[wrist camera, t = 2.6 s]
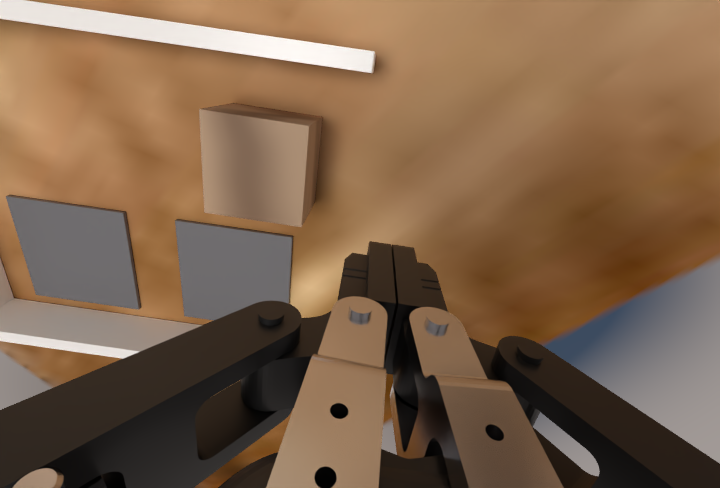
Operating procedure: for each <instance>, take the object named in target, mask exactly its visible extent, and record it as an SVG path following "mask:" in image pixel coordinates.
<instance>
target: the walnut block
mask: <svg viewBox="0 0 720 488" xmlns="http://www.w3.org/2000/svg"><path fill="white" fill-rule="evenodd" d="M199 116H200V136H201V156H202V175H203V195H204V213H211V214H217V215H224V216H231V217H237V218H244V219H251V220H257V221H264V222H270V223H277V224H284V225H290V226H297V227H302V225H303V223H304V221H305V220H306V218H307V216H308V214H309V212H310V210H311V208H312V207H313V205H314V203H315V196H316V185H317V174H318V163H319V151H320V140H321V129H322V118H323V117H320V116H314V115H307V114H301V113H294V112H288V111H281V110H275V109H268V108H261V107H255V106H248V105H242V104H235V103H231V104H226V105H220V106H214V107H209V108H203V109H199Z"/></svg>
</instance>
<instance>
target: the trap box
mask: <svg viewBox="0 0 720 488" xmlns="http://www.w3.org/2000/svg"><path fill="white" fill-rule="evenodd" d="M0 19H5V20H11V21H18V22H25V23H32V24H39V25H46V26H52V27H59V28H66V29H73V30H80V31H87V32H93V33H100V34H107V35H114V36H121V37H128V38H135V39H141V40H148V41H155V42H162V43H169V44H176V45H182V46H189V47H196V48H203V49H210V50H217V51H223V52H230V53H237V54H244V55H251V56H258V57H264V58H271V59H278V60H285V61H292V62H299V63H305V64H312V65H319V66H326V67H333V68H340V69H346V70H353V71H360V72H367V73H374V66H375V59H376V54H375V52H374V51H367V50H360V49H354V48H347V47H340V46H333V45H326V44H319V43H313V42H306V41H299V40H292V39H285V38H278V37H272V36H265V35H258V34H251V33H244V32H238V31H231V30H224V29H217V28H210V27H203V26H197V25H190V24H183V23H176V22H169V21H162V20H156V19H149V18H142V17H135V16H128V15H121V14H115V13H108V12H101V11H94V10H87V9H81V8H74V7H67V6H60V5H53V4H46V3H40V2H33V1H26V0H0ZM6 198H7V202H8V205H9V208H10V211H11V215H12V218H13V221H14V224H15V228H16V231H17V234H18V237H19V241H20V244H21V247H22V251H23V254H24V257H25V260H26V264H27V267H28V270H29V273H30V277H31V280H32V283H33V286H34V290H35V293H36V295H41V296H48V297H55V298H62V299H69V300H76V301H83V302H90V303H97V304H104V305H111V306H118V307H125V308H132V309H140V308H141V305H140V298H139V292H138V286H137V280H136V273H135V267H134V261H133V255H132V248H131V242H130V236H129V230H128V223H127V217H126V212H124V211H117V210H110V209H103V208H96V207H89V206H82V205H75V204H68V203H61V202H55V201H48V200H41V199H34V198H27V197H20V196H13V195H8V196H6ZM175 224H176V235H177V245H178V255H179V265H180V276H181V286H182V296H183V306H184V316H188V317H195V318H202V319H209V320H216V319H219V318H221V317H224V316H226V315H228V314H231V313H233V312H236V311H238V310H240V309H243V308H245V307H247V306H250V305H252V304H255V303H258V302H262V301H281V302H285V303H288V304H289V297H290V279H291V261H292V243H293V236H290V235H283V234H276V233H269V232H262V231H255V230H248V229H241V228H235V227H228V226H221V225H214V224H207V223H200V222H193V221H186V220H179V219H177V220H175ZM200 326H202V325H197V324H190V323H183V322H176V321H169V320H162V319H155V318H148V317H141V316H134V315H127V314H120V313H113V312H106V311H99V310H92V309H85V308H78V307H71V306H64V305H58V304H51V303H44V302H37V301H30V300H23V299H16V298H14V297H13V294H12V291H11V288H10V285H9V282H8V279H7V276H6V273H5V270H4V267H3V265H2V262H1V259H0V341H4V342H11V343H18V344H25V345H32V346H39V347H46V348H53V349H60V350H67V351H74V352H81V353H88V354H95V355H102V356H109V357H116V358H126V357H128V356H131V355H133V354H135V353H138V352H140V351H143V350H145V349H147V348H150V347H152V346H154V345H157V344H159V343H162V342H164V341H166V340H169V339H171V338H174V337H176V336H178V335H181V334H183V333H185V332H188V331H190V330H193V329H195V328H197V327H200Z"/></svg>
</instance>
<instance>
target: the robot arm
mask: <svg viewBox="0 0 720 488" xmlns="http://www.w3.org/2000/svg"><path fill="white" fill-rule="evenodd" d="M438 282H439V281H438V278H437V275H436V272H435V271H434V270H433V269H432V268H431V267H430V266H429V265H428V264H424V263H417V259H416V255H415V250H414V248H412V247H405V246H398V245H392V247H391V244H384V243H378V242H371V241H370V242H369V247H368V253H367V255H363V254H356V253H352V254H351V255H349V256H348V257H347V258H346V259H345V262H344V268H343V273H342V279H341V284H340V290H339V296H338V301H337V302H336V303H335V304H334V306H333V309H332V311H330V312H329V313H327V314H325V315H322V316H318V317H311V318H301V314H300V312H299V311H298V310H297V309H296V308H295V307H294V306H292V305H290V304H288V303H285V302H281V301H262V302H258V303H255V304H252V305H250V306H247V307H245V308H243V309H240V310H238V311H236V312H233V313H231V314H228V315H226V316H224V317H221V318H219V319H216V320H214V321H212V322H209V323H207V324H205V325H202V326H200V327H197V328H195V329H193V330H190V331H188V332H185V333H183V334H181V335H178V336H176V337H174V338H171V339H169V340H166V341H164V342H162V343H159V344H157V345H154V346H152V347H150V348H147V349H145V350H143V351H140V352H138V353H135V354H133V355H131V356H128V357H126V358H123V359H121V360H119V361H116V362H114V363H112V364H109V365H107V366H104V367H102V368H100V369H97V370H95V371H92V372H90V373H88V374H85V375H83V376H81V377H78V378H76V379H73V380H71V381H69V382H66V383H64V384H61V385H59V386H57V387H54V388H52V389H50V390H47V391H45V392H42V393H40V394H38V395H35V396H33V397H31V398H28V399H26V400H23V401H21V402H19V403H16V404H14V405H11V406H9V407H7V408H4V409H2V410H0V488H194V487H195V486H196V485H198V484H199V483H200V482H202V481H203V480H204V479H206V478H207V477H208V476H210V475H211V474H212V473H214V472H215V471H216V470H218V469H219V468H220V467H222V466H223V465H224V464H226V463H227V462H228V461H230V460H231V459H232V458H234V457H235V456H236V455H238V454H239V453H241V452H242V451H243V450H245V449H246V448H247V447H249V446H250V445H251V444H253V443H254V442H255V441H257V440H258V439H259V438H261V437H262V436H263V435H265V434H266V433H267V432H269V431H270V430H271V429H273V428H274V427H275V426H277V425H278V424H279V423H281V422H282V421H283V420H285V419H286V418H287V417H288V416H289V414H290V413H291V411H292V409H293V408H294V409H293V412H292V415H291V417H290V420H289V423H288V426H287V429H286V432H285V435H284V438H283V441H282V443H281V446H280V449H279V452H277V453H274V454H271V455H269V456H266V457H263V458H261V459H259V460H257V461H255V462H253V463H251V464H250V465H248V466H246V467H245V468H243V469H242V470H240V471H239V472H237V473H236V474H234V475H233V476H232V477H231V478H229V479H228V480H227V481H226V482H224V483H223V484H222V485H221V486H220V487H218V488H720V464H719V463H718V462H716V461H715V460H713V459H712V458H710V457H709V456H707V455H706V454H704V453H703V452H701V451H700V450H698V449H697V448H695V447H694V446H692V445H691V444H689V443H688V442H686V441H685V440H683V439H682V438H680V437H679V436H677V435H676V434H674V433H673V432H671V431H670V430H668V429H667V428H665V427H664V426H662V425H661V424H659V423H658V422H656V421H655V420H653V419H652V418H650V417H649V416H647V415H646V414H644V413H643V412H641V411H640V410H638V409H637V408H635V407H634V406H632V405H631V404H629V403H628V402H626V401H624V400H623V399H622V398H620V397H619V396H617V395H616V394H614V393H612V392H611V391H610V390H608V389H607V388H605V387H603V386H602V385H600V384H599V383H597V382H596V381H595V380H593V379H592V378H590V377H589V376H587V375H586V374H584V373H583V372H581V371H580V370H578V369H577V368H575V367H574V366H572V365H571V364H569V363H567V362H566V361H564V360H563V359H561V358H560V357H558V356H557V355H555V354H554V353H552V352H551V351H549V350H548V349H546V348H545V347H543V346H542V345H540V344H538V343H536V342H534V341H532V340H529V339H526V338H523V337H518V336H508V337H505V338H502V339H501V340H500V341H499V344H498V346H497V348H495V347H492V346H489V345H487V344H484V343H481V342H478V341H476V340H473V339H471V338H469V337H468V335H467V333H466V331H465V329H464V326H463V325H462V323H461V322H460V321H459V319H457V318H456V317H455V316H454V315H452V314H450V313H449V312H448V311H447V308H446V304H445V301H444V298H443V294H442V291H441V288H440V284H439V283H438ZM386 373H387V374H393V385H392V389H391V393H390V404H391V412H392V419H393V427H394V435H395V442H396V450H397V455H395V454H393V453H390V452H387V451H385V450H382V449H381V443H382V430H383V415H384V401H385V386H386ZM239 380H240V381H239ZM237 381H238V382H237ZM234 383H235V384H234ZM232 384H233V385H232ZM229 386H230V387H229ZM227 387H228V388H227ZM225 388H226V389H225ZM222 390H223V391H222ZM220 391H221V392H220ZM218 392H219V393H218ZM217 393H218V394H217ZM215 394H216V395H215ZM213 395H214V396H213ZM210 397H211V398H210ZM540 412H541V413H542V414H544V415H545V416H546V417H547V418H549V419H550V420H551V421H552V422H554V423H555V424H556V425H557V426H559V427H560V428H561V429H562V430H563V431H565V432H566V433H567V434H568V435H570V436H571V437H572V438H573V439H575V440H576V441H577V442H578V443H580V444H581V445H582V446H583V447H585V448H586V449H587V450H588V451H589V452H590V453H591V454H592V455H593V456H594V458H595V459H596V461H597V463H598V465H599V469H600V474H599V476H593V475H590V474H588V473H587V472H585V471H584V470H582V469H581V468H580V467H579V466H578V465H577V464H575V463H574V462H573V461H572V460H571V459H569V458H568V457H567V456H566V455H565V454H564V453H562V452H561V451H560V450H559V449H558V448H556V447H555V446H554V445H553V444H552V443H551V442H550V441H548V440H547V439H546V438H545V437H544V436H543V435H541V434H540V433H539V432H538V431H537V430H536V429H534V428H533V425H534V423H535V421H536V419H537V417H538V415H539V413H540Z"/></svg>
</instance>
